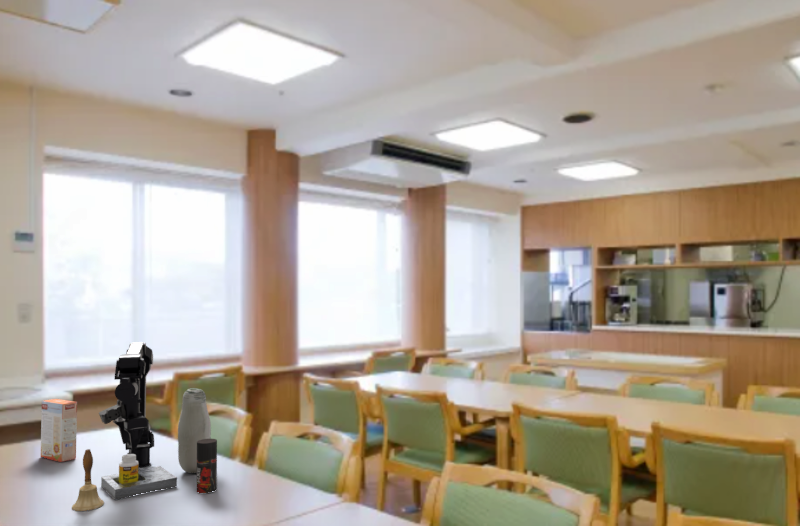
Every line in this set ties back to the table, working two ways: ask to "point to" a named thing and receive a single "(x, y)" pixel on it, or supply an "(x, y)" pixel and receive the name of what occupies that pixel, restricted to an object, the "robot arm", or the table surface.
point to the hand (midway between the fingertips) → (129, 446)
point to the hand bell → (88, 488)
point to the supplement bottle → (128, 469)
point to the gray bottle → (192, 428)
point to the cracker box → (58, 430)
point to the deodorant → (206, 465)
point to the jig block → (139, 482)
